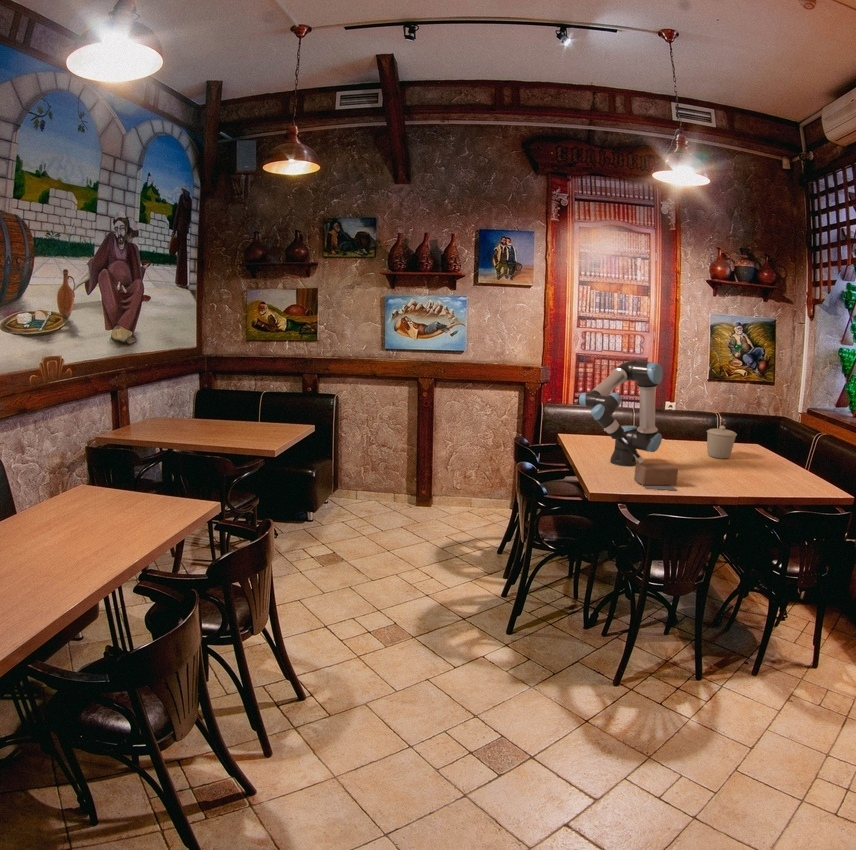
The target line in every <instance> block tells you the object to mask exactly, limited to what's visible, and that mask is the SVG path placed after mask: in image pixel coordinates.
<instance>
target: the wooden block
mask: <svg viewBox="0 0 856 850" xmlns="http://www.w3.org/2000/svg"><path fill="white" fill-rule="evenodd" d="M678 473H679V468H678V466H674V465H673V464H670V463H664V462H663V463H662V462H661V463H658V462H657V463H656V462H655V463H648V462H645V463H644V462H642V463H639V462H638V463H637V462H636V465H635V469H634V477H633V480H634V481H635V482H637V484H639V485H641V486H642V485H672V486H676V485H677V481H678Z"/></svg>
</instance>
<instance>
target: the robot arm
mask: <svg viewBox="0 0 856 850" xmlns="http://www.w3.org/2000/svg"><path fill="white" fill-rule="evenodd" d="M663 376H664V371H663V367H662V366H661V365H660V364H659V362H653V361H645V360H643V361H642V360H628V361H625V362H622V363H621V364H619V365H618V366H616V367H615V368H614V369H612V371H611V373H610V374H609V375H608V376H607V377H606V378H605V379H604V380H602V381H601V382H600V383H599V384H598V385H597V386H595V387H594V388H593V389H592V390H590V391H589V392H581V393H580V395H579V397H578V403H579V405H580V406H582V407H586V408H591V410H590V415H591V416H592V417H593V419H594V420H595V421H596V422H597V423H598V425H600V426H601V427H602V428H603V431H604V432H605V433H607V434H608V435H609V437H611V439H613V440H615V441H614V449H613V452H612V454H611V456H610V458H609V459H610V460H609V461H610V463H611V464H613V465H615V466H616V465H618V466H623V467H633V466H636V464H637V462H638V463H644V461H645V458H643V457H642V456H641V454H640V453H639V452H638V450H640V451H644V452H648V453H649V452H650V453H655V452H657V450H659V448H660V446H661V444H662V440H663V436H662V434H661V433H659V432H658V431H659V429H658V427H657V426H656V389H657V387H659V384H660V383H661V382H662V380H663V378H664V377H663ZM627 381H633V382H636V387H638V388H639V426H636V425H620V424H619V422H618V421H617V419H615V418H614V416H613V414H614V413H615V411H617V409H618V408H619V407H620V405H621V404H622V400H623V399H622V397H621V396H620V394H618V393H616V392H613V390H615V389H616V388H617V387H618V386H620V385H621V384H623V383H625V382H627Z"/></svg>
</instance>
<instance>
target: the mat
mask: <svg viewBox="0 0 856 850" xmlns="http://www.w3.org/2000/svg"><path fill="white" fill-rule="evenodd" d="M643 486H644V487H645V488H646V489H657V490H656V491H665V490H667V491H669V492H677V491H678V489H677V488H676V487H674V485H643ZM643 486H642V487H643ZM644 487H643V488H644ZM645 488H644V489H645ZM646 489H645V490H646ZM667 491H666V492H667Z"/></svg>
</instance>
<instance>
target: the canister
mask: <svg viewBox="0 0 856 850" xmlns="http://www.w3.org/2000/svg"><path fill="white" fill-rule="evenodd" d="M706 433H707V434H706V435H707V436H706V437H707V441H706V445H707V446H706V448H707V449H706V450H707V455H708V456H709V457H711V458H714V459H722V460H723V459H724V460H726V459H728V458H730V457H731V454H732V451H733V448H734V444H735V441H736V437H737V435H738V434H737V433H736V432H735V431H733V430H730V429H726V426H725V425H720V426H719V428H710V429H707V430H706Z"/></svg>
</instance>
